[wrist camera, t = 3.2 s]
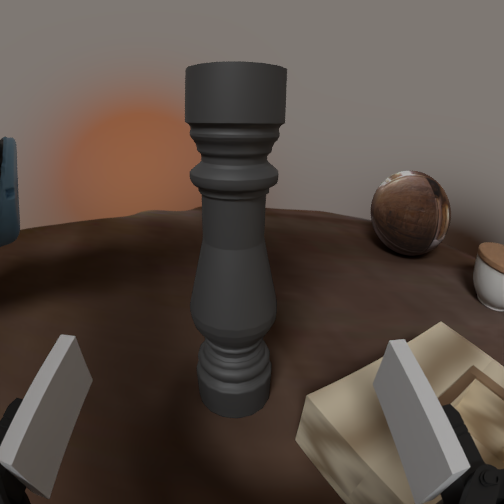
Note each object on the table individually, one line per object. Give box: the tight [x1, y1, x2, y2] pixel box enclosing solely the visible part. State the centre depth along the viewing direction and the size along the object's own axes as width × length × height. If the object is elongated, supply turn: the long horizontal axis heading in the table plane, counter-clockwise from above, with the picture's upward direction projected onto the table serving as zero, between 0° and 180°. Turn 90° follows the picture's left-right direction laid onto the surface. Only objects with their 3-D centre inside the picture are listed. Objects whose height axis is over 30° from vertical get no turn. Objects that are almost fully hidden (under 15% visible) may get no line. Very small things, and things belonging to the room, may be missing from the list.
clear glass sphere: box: [371, 171, 451, 256], centre depth 51 cm, size 15×15×15 cm
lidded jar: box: [473, 242, 504, 311], centre depth 37 cm, size 11×11×9 cm
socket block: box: [295, 322, 504, 504], centre depth 15 cm, size 22×16×6 cm
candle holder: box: [185, 62, 287, 418], centre depth 21 cm, size 6×6×25 cm
